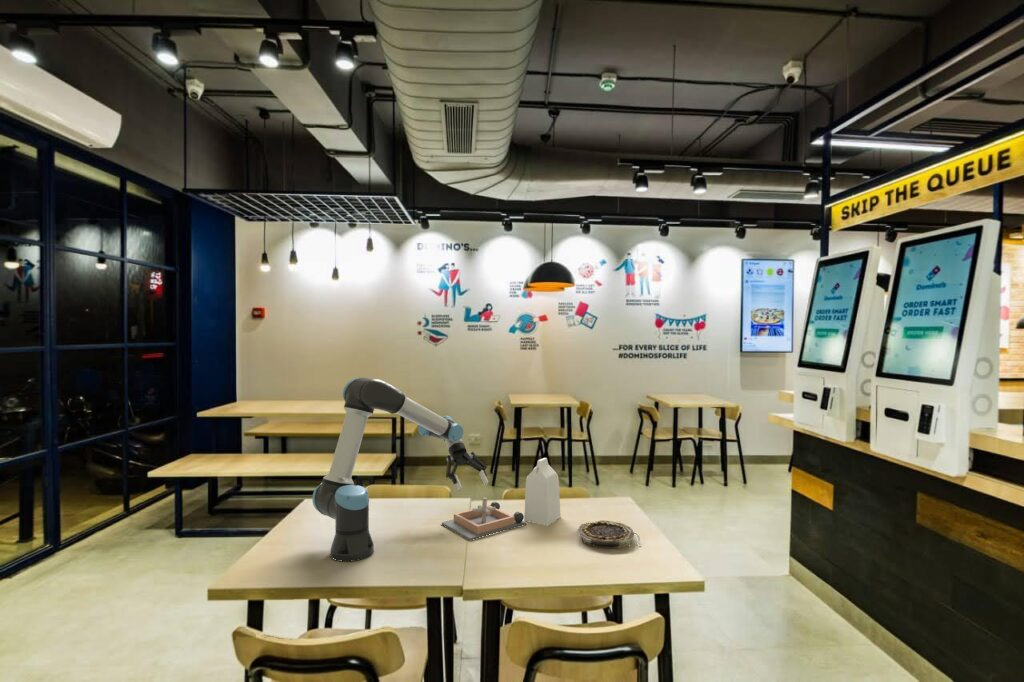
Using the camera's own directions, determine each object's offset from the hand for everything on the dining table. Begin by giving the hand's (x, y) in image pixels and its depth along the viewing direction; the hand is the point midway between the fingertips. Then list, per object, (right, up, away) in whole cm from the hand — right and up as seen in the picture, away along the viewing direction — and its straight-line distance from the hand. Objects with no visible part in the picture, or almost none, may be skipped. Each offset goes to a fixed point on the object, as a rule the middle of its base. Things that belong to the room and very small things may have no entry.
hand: (473, 486), depth 218 cm
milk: (+30, -14, 0) cm, 33 cm away
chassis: (+5, -14, -6) cm, 16 cm away
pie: (+53, -15, -22) cm, 59 cm away
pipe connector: (+5, -13, -6) cm, 15 cm away
